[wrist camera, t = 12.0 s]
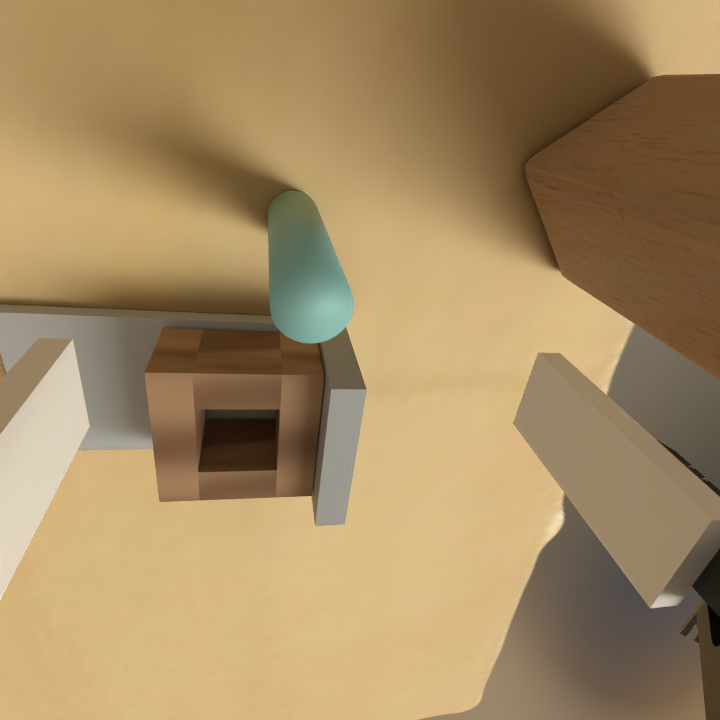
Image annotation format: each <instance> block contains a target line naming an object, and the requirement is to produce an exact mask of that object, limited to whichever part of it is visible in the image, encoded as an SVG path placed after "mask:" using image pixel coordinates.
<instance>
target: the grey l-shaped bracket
mask: <svg viewBox="0 0 720 720" xmlns="http://www.w3.org/2000/svg"><path fill="white" fill-rule="evenodd" d="M163 328H180V329H208V330H236V331H264V332H281V331H280V330H279V329H278V328H277V326H276V325H275V323H274V321H273V319H272V316H266V315H242V314H219V313H196V312H172V311H149V310H125V309H102V308H79V307H55V306H32V305H9V304H0V353H1V357H2V360H3V364H4V367H5V371H6V374H7V373H8V372H9V370H10V369H11V368H12V367H13V366H14V365H15V364H16V363H17V362H18V360H19V359H20V358H21V357H22V356H23V355H24V354H25V353H26V352H27V350H28V349H29V348H30V347H31V346H32V345H33V344H34V343H35V342H36V340H37V339H38V338H56V339H73V342H74V348H75V353H76V358H77V363H78V368H79V374H80V379H81V384H82V389H83V394H84V399H85V405H86V410H87V415H88V420H89V425H90V427H89V429H88V431H87V432H86V434H85V436H84V438H83V440H82V442H81V444H80V446H79V448H78V450H127V449H153V441H152V433H151V424H150V416H149V407H148V399H147V390H146V382H145V373H144V372H145V370H146V368H147V365H148V363H149V360H150V358H151V355H152V353H153V351H154V348H155V346H156V343H157V341H158V339H159V336H160V334H161V331H162V329H163ZM318 346H319V351H320V355H321V360H322V365H323V370H324V375H325V376H324V385H323V395H322V404H321V413H320V423H319V432H318V442H317V451H316V460H315V470H314V479H313V488H312V502H313V511H314V520H315V526H325V525H344V524H345V519H346V513H347V507H348V501H349V494H350V488H351V482H352V476H353V470H354V464H355V457H356V451H357V445H358V439H359V433H360V427H361V420H362V414H363V408H364V402H365V396H366V387H365V384H364V380H363V377H362V374H361V371H360V368H359V365H358V362H357V359H356V356H355V353H354V350H353V347H352V344H351V341H350V338H349V335H348V332H347V329H346V327H345V328H344V329H343V330H342V331H341V332H340V333H339V334H338V335H336V336H335V337H333V338H331V339H329V340H327V341H324V342H320V343H318ZM271 419H276V409H207V420H271Z"/></svg>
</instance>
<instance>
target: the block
mask: <svg viewBox="0 0 720 720" xmlns="http://www.w3.org/2000/svg"><path fill="white" fill-rule="evenodd" d="M525 175H526V179H527V181H528V184H529V187H530V190H531V192H532V195H533V198H534V200H535V203H536V206H537V208H538V211H539V214H540V217H541V219H542V222H543V225H544V227H545V230H546V233H547V236H548V238H549V241H550V244H551V246H552V249H553V252H554V255H555V257H556V260H557V263H558V265H559V268H560V271H561V274H562V275H563V276H564V277H565V278H566V279H568V280H569V281H570V282H572V283H573V284H575V285H577V286H578V287H580V288H581V289H583V290H584V291H586V292H587V293H589V294H590V295H592V296H593V297H595V298H596V299H598V300H599V301H601V302H602V303H604V304H606V305H607V306H609V307H610V308H612V309H613V310H615V311H616V312H618V313H619V314H621V315H622V316H624V317H625V318H627V319H628V320H630V321H631V322H633V323H635V324H636V325H638V326H639V327H641V328H642V329H644V330H645V331H647V332H648V333H650V334H651V335H653V336H654V337H656V338H657V339H659V340H661V341H662V342H664V343H665V344H667V345H668V346H670V347H671V348H673V349H674V350H676V351H677V352H679V353H680V354H682V355H684V356H685V357H686V358H688V359H689V360H691V361H693V362H694V363H696V364H697V365H699V366H700V367H702V368H703V369H705V370H706V371H708V372H709V373H711V374H712V375H714V376H716V377H717V378H718V379H720V74H698V75H662V76H657V77H653V78H651V79H650V80H648V81H647V82H645V83H644V84H642V85H641V86H639V87H638V88H636V89H635V90H633V91H631V92H630V93H628V94H627V95H625V96H624V97H622V98H621V99H619V100H618V101H616V102H615V103H613V104H612V105H610V106H609V107H607V108H605V109H604V110H602V111H601V112H599V113H598V114H596V115H595V116H593V117H592V118H590V119H589V120H587V121H586V122H584V123H583V124H581V125H579V126H578V127H576V128H575V129H573V130H572V131H570V132H569V133H567V134H566V135H564V136H563V137H561V138H560V139H558V140H557V141H555V142H553V143H552V144H550V145H549V146H547V147H546V148H544V149H543V150H541V151H540V152H538V153H537V154H535V155H534V156H532V157H531V158H530V159H529V160H528V161H527V163H526V164H525Z"/></svg>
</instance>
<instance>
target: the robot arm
mask: <svg viewBox="0 0 720 720" xmlns="http://www.w3.org/2000/svg"><path fill="white" fill-rule="evenodd" d="M513 424H514V425H515V427H516V428H517V429H518V431H519V432H520V433H521V435H522V436H523V437H524V439H525V440H526V441H527V443H528V444H529V445H530V447H531V448H532V449H533V451H534V452H535V454H536V455H537V456H538V458H539V459H540V460H541V462H542V463H543V464H544V466H545V467H546V468H547V470H548V471H549V472H550V474H551V475H552V476H553V478H554V479H555V480H556V482H557V483H558V485H559V486H560V487H561V489H562V490H563V491H564V493H565V494H566V495H567V497H568V498H569V499H570V501H571V502H572V503H573V505H574V506H575V507H576V509H577V510H578V512H579V513H580V514H581V516H582V517H583V518H584V520H585V521H586V522H587V524H588V525H589V526H590V528H591V529H592V530H593V532H594V533H595V534H596V536H597V537H598V538H599V540H600V541H601V542H602V544H603V545H604V546H605V548H606V549H607V551H608V552H609V553H610V555H611V556H612V557H613V559H614V560H615V561H616V563H617V564H618V565H619V567H620V568H621V569H622V571H623V572H624V574H625V575H626V576H627V578H628V579H629V580H630V582H631V583H632V584H633V586H634V587H635V588H636V590H637V591H638V592H639V594H640V595H641V597H642V598H643V599H644V601H645V602H646V603H647V604H648V606H649V607H650V608H657V607H666V606H675V605H680V603H681V602H682V600H683V599H684V598H685V596H686V595H687V594H688V592H689V591H690V590H691V588H692V587H693V588H694V589H695V590H696V591H697V592H698V594H699V595H700V596H701V597H702V598H703V600H702V601H701V603H700V604H699V605H698V607H697V608H696V609H695V611H694V612H693V613H692V614H691V616H690V617H689V618H688V619H687V621H686V622H685V623H684V624H683V626H682V629H681V634H682V635H684V636H686V635H687V634H688V633H689V632H690V631H691V629H692V628H693V627H698V635H697V636H696V638H695V639H694V640H695V641H696V642H698V643H699V647H700V658H701V668H702V679H703V691H704V701H705V713H706V720H720V490H719V489H718V488H716V487H715V486H714V485H713V484H712V483H711V482H710V481H706V478H705V477H704V476H703V475H702V474H701V473H699V472H698V471H697V470H696V469H693V468H692V465H690V464H689V463H688V462H687V461H686V460H685V459H684V458H683V457H681V456H680V455H679V454H678V453H677V452H676V451H674V450H672V449H671V448H669V447H668V446H666V445H664V444H663V443H661V442H659V441H658V440H656V439H655V438H654V437H652V436H651V435H650V434H649V433H648V432H647V431H646V430H645V429H644V428H642V427H641V426H640V425H639V424H638V423H637V422H636V421H635V420H634V419H632V418H631V417H630V416H629V415H628V414H627V413H626V412H625V411H624V410H622V409H621V408H620V407H619V406H618V405H617V404H616V403H615V402H613V401H612V400H611V399H610V398H609V397H608V396H607V395H606V394H605V393H604V392H602V391H601V390H600V389H599V388H598V387H597V386H596V385H595V384H593V383H592V382H591V381H590V380H589V379H588V378H587V377H586V376H585V375H583V374H582V373H581V372H580V371H579V370H578V369H577V368H576V367H575V366H573V365H572V364H571V363H570V362H569V361H568V360H567V359H566V358H565V357H563V356H562V355H561V354H560V353H538V355H537V357H536V360H535V363H534V366H533V369H532V371H531V374H530V377H529V380H528V383H527V386H526V388H525V391H524V394H523V397H522V400H521V402H520V405H519V408H518V411H517V414H516V416H515V419H514V422H513ZM89 427H90V425H89V420H88V415H87V410H86V405H85V399H84V394H83V389H82V384H81V379H80V374H79V368H78V363H77V358H76V353H75V348H74V342H73V339H56V338H38V339H37V340H36V342H35V343H34V344H33V345H32V346H31V347H30V348H29V349H28V350H27V352H26V353H25V354H24V355H23V356H22V357H21V358H20V359H19V360H18V362H17V363H16V364H15V365H14V366H13V367H12V368H11V369H10V370H9V372H8V373H7V374H6V375H5V376H4V377H3V378H2V379H1V380H0V599H1V597H2V595H3V593H4V591H5V590H6V588H7V586H8V584H9V582H10V580H11V578H12V576H13V574H14V572H15V570H16V568H17V566H18V564H19V562H20V560H21V559H22V557H23V555H24V553H25V551H26V549H27V547H28V545H29V543H30V541H31V539H32V537H33V535H34V533H35V531H36V529H37V527H38V526H39V524H40V522H41V520H42V518H43V516H44V514H45V512H46V510H47V508H48V506H49V504H50V502H51V500H52V498H53V496H54V495H55V493H56V491H57V489H58V487H59V485H60V483H61V481H62V479H63V477H64V475H65V473H66V471H67V469H68V467H69V465H70V463H71V462H72V460H73V458H74V456H75V454H76V452H77V450H78V448H79V446H80V444H81V442H82V440H83V438H84V436H85V434H86V432H87V431H88V429H89Z"/></svg>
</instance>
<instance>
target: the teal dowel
mask: <svg viewBox="0 0 720 720" xmlns="http://www.w3.org/2000/svg"><path fill="white" fill-rule="evenodd" d="M268 245H269V291H270V312H271V316H272V319H273V321H274V323H275V325H276V326H277V328H278V329H279V330H280V331H281V332H282V333H283V334H284V335H285V336H287V337H289V338H290V339H292V340H295V341H298V342H302V343H320V342H324V341H327V340H329V339H331V338H333V337H335V336H336V335H338V334H339V333H340V332H341V331H342V330H343V329H344V328H345V327H346V326H347V324H348V323H349V321H350V319H351V316H352V313H353V307H354V301H353V295H352V292H351V289H350V287H349V284H348V282H347V279H346V277H345V275H344V272H343V270H342V267H341V265H340V262H339V260H338V258H337V255H336V253H335V250H334V248H333V245H332V243H331V241H330V238H329V236H328V233H327V231H326V228H325V226H324V224H323V221H322V219H321V216H320V214H319V211H318V209H317V207H316V204H315V203H314V201H313V200H312V199H311V198H310V197H309V196H308V195H306V194H305V193H303V192H300V191H296V190H289V191H285V192H282V193H280V194H279V195H277V196H276V197H275V198H274V199H273V200H272V202H271V204H270V206H269V209H268Z"/></svg>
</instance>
